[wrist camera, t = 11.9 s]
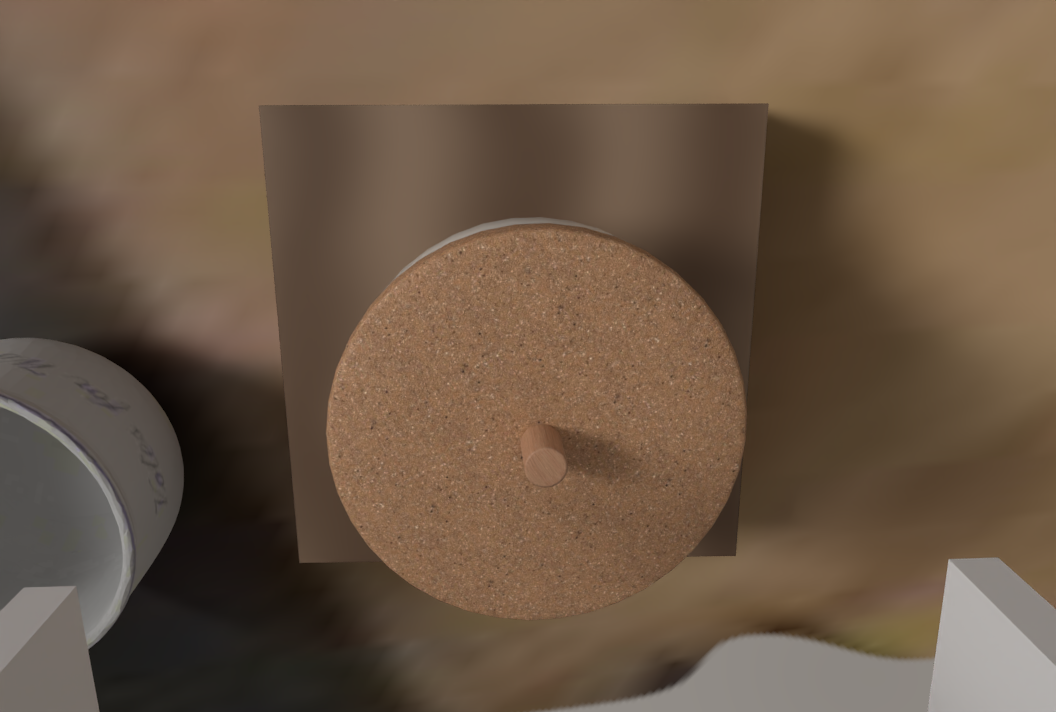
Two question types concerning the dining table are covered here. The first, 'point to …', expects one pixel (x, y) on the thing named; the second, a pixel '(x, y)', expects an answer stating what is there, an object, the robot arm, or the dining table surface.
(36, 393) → the teacup
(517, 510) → the lidded jar
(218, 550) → the dining table surface
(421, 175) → the walnut block
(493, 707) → the dining table surface
